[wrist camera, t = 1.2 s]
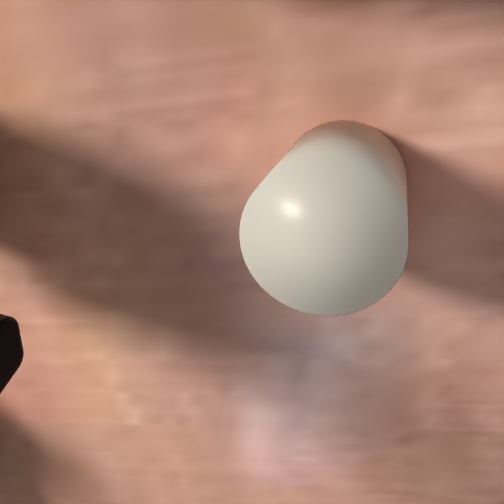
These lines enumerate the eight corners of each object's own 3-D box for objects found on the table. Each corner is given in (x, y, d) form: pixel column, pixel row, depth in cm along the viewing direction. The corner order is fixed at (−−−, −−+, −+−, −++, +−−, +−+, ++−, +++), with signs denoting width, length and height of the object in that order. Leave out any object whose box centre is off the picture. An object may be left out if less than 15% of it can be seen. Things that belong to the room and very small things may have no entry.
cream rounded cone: (347, 261, 21) (329, 342, 15) (258, 187, 20) (209, 246, 15) (435, 177, 18) (448, 242, 13) (336, 92, 18) (308, 123, 13)
